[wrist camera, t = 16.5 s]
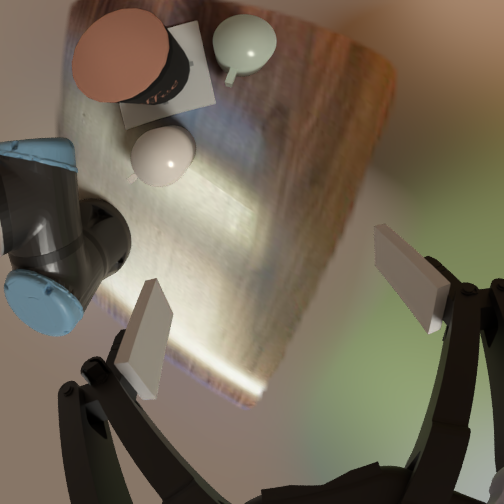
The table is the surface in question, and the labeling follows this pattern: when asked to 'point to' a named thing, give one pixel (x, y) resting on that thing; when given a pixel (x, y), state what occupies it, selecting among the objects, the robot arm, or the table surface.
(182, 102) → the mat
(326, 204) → the table surface
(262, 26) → the mug sage
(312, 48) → the table surface
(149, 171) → the mug cream
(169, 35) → the coffee jar
